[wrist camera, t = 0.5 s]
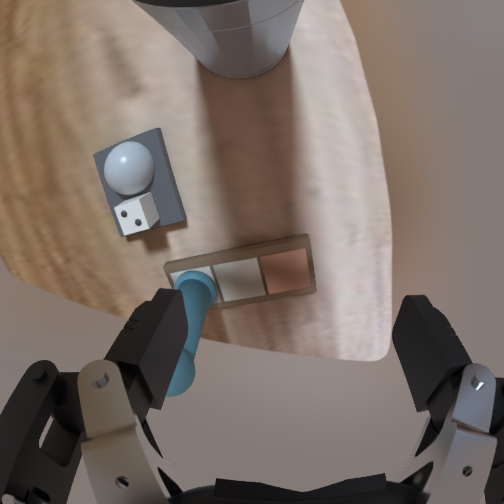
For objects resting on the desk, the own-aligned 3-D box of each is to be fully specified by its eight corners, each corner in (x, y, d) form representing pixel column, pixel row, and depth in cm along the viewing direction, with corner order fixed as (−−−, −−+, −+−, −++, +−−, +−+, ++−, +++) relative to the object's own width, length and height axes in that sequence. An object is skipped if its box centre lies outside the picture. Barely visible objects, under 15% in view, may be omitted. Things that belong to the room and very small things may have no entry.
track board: (166, 262, 31) (162, 267, 30) (307, 233, 29) (309, 238, 28) (185, 307, 34) (182, 314, 33) (315, 285, 32) (317, 292, 31)
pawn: (170, 274, 30) (119, 370, 17) (209, 266, 30) (175, 370, 17) (184, 307, 32) (148, 406, 19) (221, 302, 32) (200, 408, 18)
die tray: (105, 151, 27) (77, 158, 22) (165, 127, 26) (143, 128, 21) (130, 228, 31) (108, 248, 26) (190, 212, 30) (175, 231, 25)
